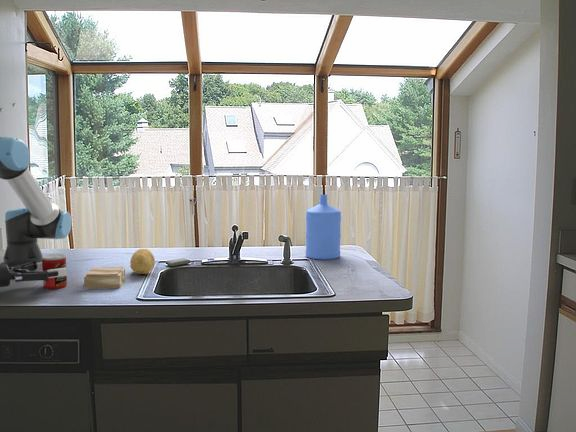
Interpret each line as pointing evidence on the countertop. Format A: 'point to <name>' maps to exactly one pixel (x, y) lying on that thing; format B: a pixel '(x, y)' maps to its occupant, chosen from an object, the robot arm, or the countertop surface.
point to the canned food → (54, 263)
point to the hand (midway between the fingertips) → (61, 267)
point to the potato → (142, 261)
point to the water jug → (323, 231)
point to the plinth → (104, 278)
